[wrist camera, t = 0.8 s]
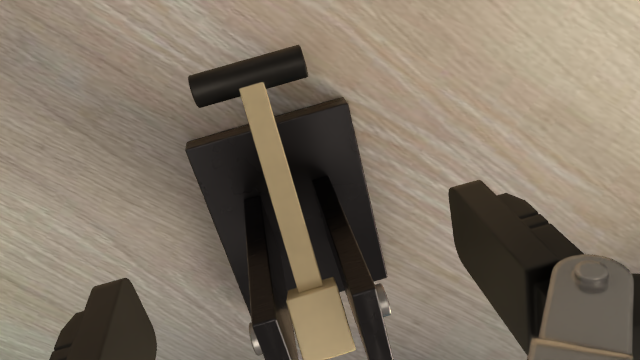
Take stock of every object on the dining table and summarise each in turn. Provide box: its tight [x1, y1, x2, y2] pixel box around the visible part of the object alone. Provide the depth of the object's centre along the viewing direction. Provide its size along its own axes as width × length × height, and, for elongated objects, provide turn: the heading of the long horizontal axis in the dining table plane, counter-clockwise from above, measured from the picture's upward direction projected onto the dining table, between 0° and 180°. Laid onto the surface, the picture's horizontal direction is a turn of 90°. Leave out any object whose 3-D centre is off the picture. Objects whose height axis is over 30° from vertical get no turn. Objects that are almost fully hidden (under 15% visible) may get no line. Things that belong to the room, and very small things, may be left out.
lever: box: [188, 45, 356, 360], centre depth 23 cm, size 13×5×2 cm, turn 14°
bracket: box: [185, 97, 394, 360], centre depth 26 cm, size 12×9×12 cm
